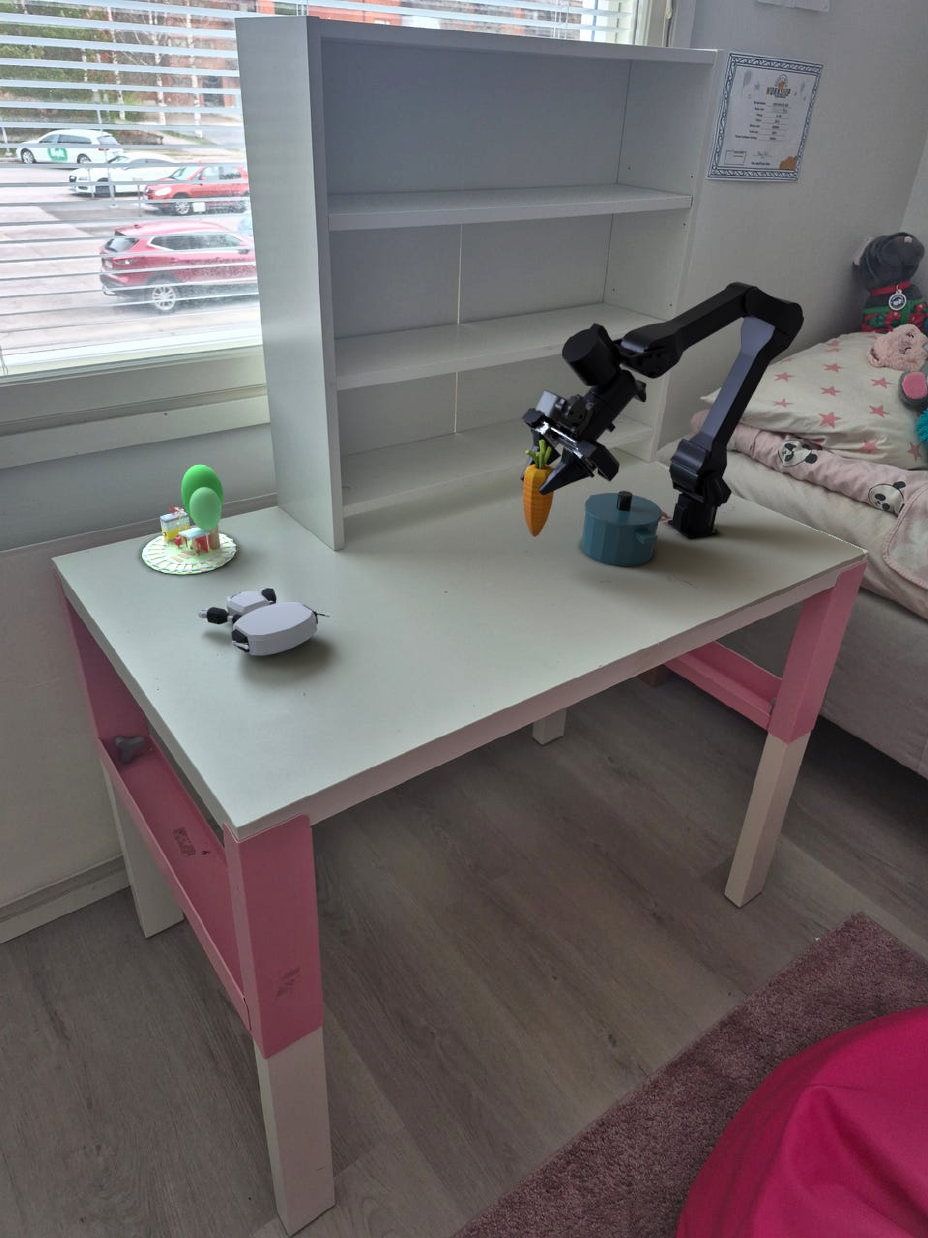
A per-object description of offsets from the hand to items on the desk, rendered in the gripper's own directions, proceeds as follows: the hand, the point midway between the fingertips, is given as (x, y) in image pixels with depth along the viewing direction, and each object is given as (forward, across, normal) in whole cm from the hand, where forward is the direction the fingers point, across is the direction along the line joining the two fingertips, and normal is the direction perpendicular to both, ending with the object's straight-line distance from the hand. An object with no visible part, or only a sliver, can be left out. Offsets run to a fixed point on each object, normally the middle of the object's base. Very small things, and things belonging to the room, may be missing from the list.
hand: (531, 487), depth 127 cm
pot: (-2, +1, +22) cm, 22 cm away
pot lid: (-8, +1, +17) cm, 18 cm away
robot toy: (+39, +3, -21) cm, 45 cm away
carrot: (+5, 0, +7) cm, 9 cm away
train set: (+41, -25, -23) cm, 53 cm away
